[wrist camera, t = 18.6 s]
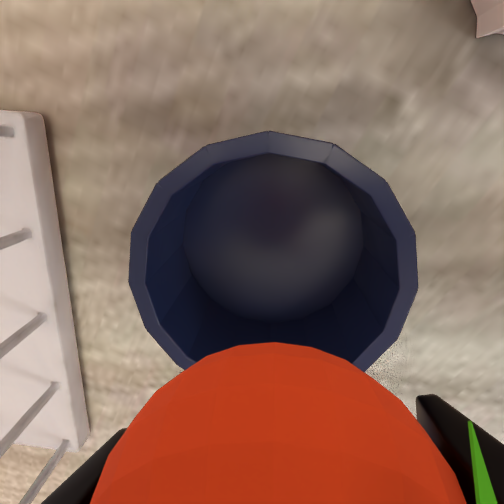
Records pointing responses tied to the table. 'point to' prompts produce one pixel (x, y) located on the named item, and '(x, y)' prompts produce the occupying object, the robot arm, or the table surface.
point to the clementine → (280, 438)
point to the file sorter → (35, 304)
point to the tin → (273, 252)
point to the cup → (489, 17)
